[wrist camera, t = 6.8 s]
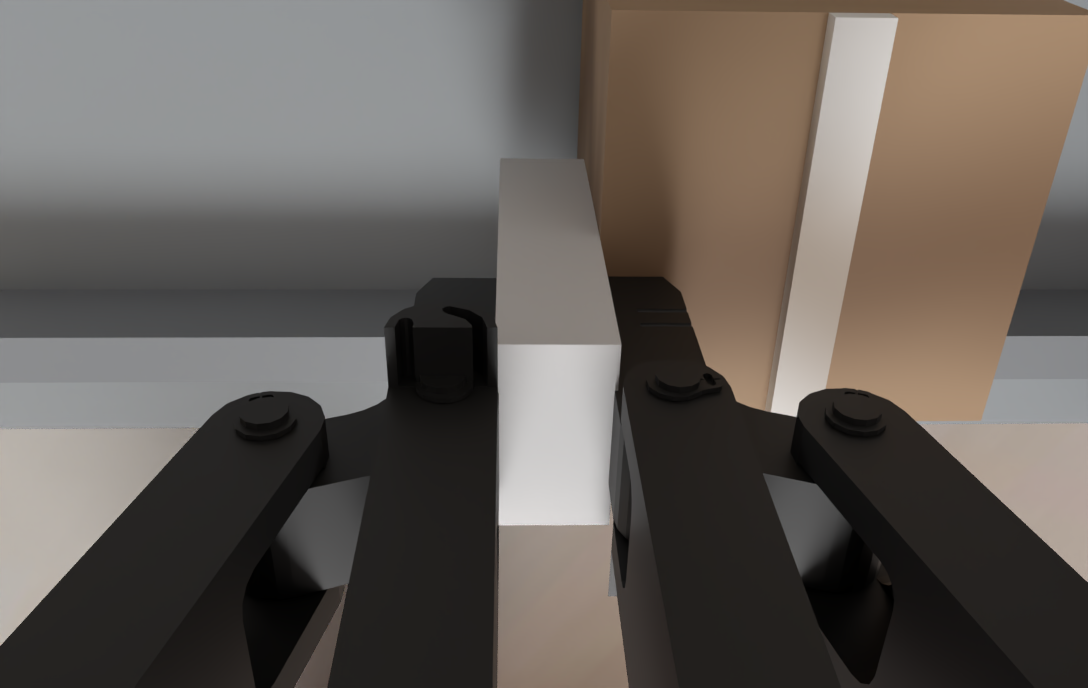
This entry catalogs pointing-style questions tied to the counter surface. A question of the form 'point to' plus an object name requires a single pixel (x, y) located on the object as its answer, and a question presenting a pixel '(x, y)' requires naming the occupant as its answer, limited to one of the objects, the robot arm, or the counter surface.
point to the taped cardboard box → (832, 180)
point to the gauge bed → (321, 200)
